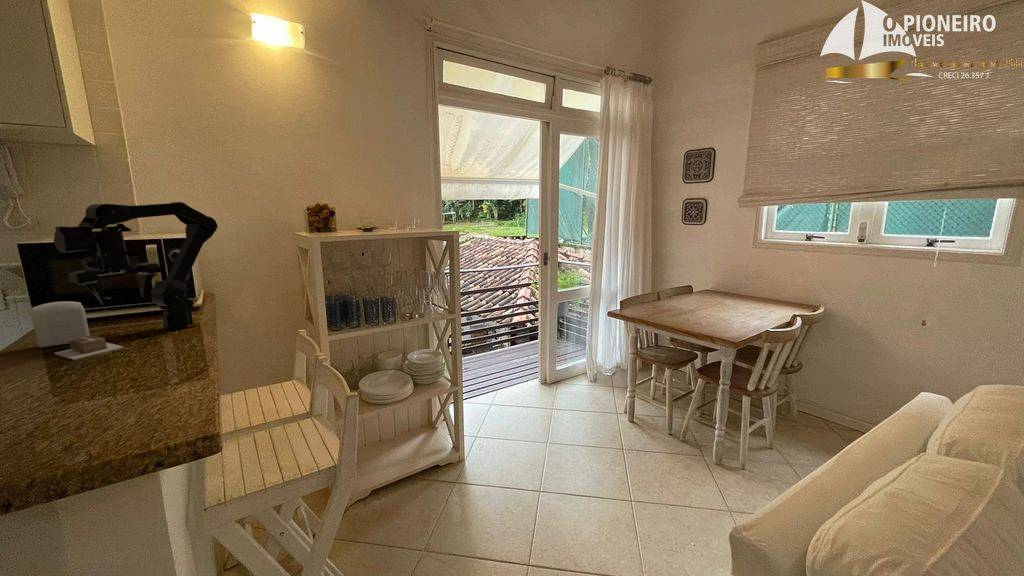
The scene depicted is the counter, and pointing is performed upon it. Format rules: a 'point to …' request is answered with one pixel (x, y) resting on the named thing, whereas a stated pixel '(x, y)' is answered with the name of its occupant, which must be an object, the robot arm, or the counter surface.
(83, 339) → the ridged brown block
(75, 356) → the mat
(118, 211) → the robot arm
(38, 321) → the photo printer
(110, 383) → the counter surface
